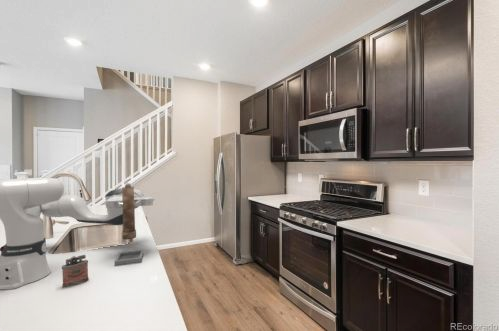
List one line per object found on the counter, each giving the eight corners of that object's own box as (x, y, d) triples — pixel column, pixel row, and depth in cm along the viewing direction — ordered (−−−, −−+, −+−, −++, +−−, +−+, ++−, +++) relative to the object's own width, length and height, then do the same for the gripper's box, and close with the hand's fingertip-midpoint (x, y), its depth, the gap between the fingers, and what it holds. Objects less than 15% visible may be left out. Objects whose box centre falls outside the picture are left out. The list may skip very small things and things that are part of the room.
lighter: (62, 288, 89) (61, 261, 88) (61, 285, 91) (60, 258, 91) (89, 281, 94) (88, 255, 94) (87, 278, 97) (87, 252, 96)
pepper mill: (121, 240, 110) (119, 184, 109) (123, 236, 115) (122, 183, 115) (135, 238, 112) (133, 183, 111) (136, 235, 117) (135, 182, 116)
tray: (114, 266, 107) (114, 261, 107) (119, 256, 117) (119, 252, 117) (141, 262, 110) (141, 258, 110) (143, 253, 120) (143, 249, 120)
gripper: (154, 204, 129) (153, 210, 116) (110, 207, 122) (103, 213, 109) (154, 192, 129) (152, 196, 115) (109, 195, 122) (102, 199, 109)
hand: (128, 204), depth 112 cm, fingers closed on pepper mill, 5 cm apart
